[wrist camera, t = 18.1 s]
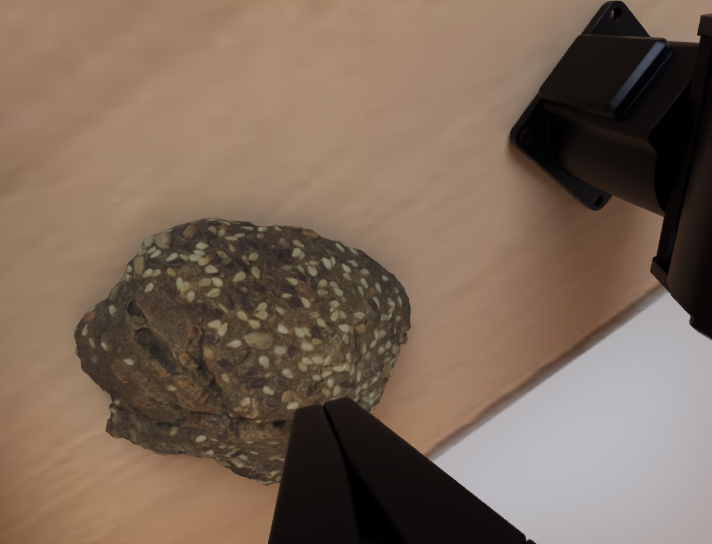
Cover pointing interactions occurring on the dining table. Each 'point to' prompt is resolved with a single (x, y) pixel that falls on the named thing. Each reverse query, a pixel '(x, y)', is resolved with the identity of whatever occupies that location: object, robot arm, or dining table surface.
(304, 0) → the dining table surface
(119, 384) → the bread roll
